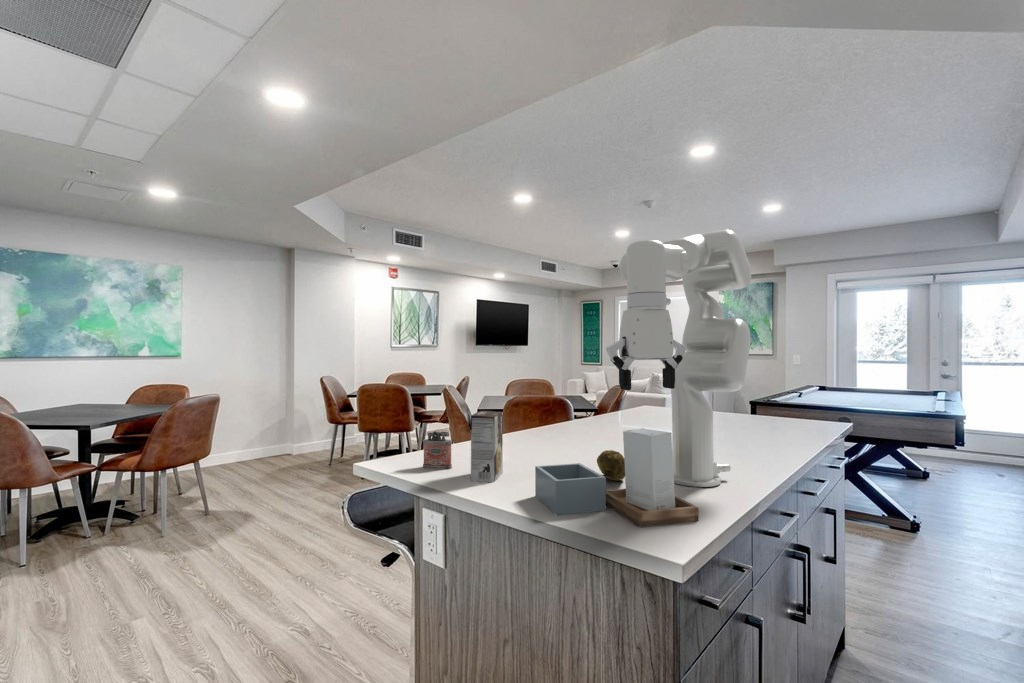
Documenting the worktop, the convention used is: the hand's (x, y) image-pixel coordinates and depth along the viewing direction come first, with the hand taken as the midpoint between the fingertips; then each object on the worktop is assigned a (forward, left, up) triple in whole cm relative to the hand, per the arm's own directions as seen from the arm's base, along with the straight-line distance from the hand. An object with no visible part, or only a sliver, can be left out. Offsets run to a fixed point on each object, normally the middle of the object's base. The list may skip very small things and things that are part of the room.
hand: (647, 388), depth 95 cm
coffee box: (+25, -34, -24) cm, 49 cm away
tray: (0, 0, -24) cm, 24 cm away
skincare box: (0, 0, -23) cm, 23 cm away
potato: (-4, -22, -24) cm, 33 cm away
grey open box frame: (+13, -9, -24) cm, 29 cm away
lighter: (+36, -47, -24) cm, 64 cm away
